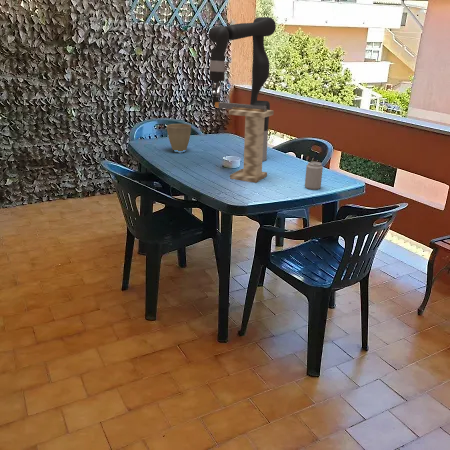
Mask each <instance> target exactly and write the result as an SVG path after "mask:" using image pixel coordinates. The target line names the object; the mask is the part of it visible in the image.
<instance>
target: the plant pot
mask: <svg viewBox="0 0 450 450" xmlns="http://www.w3.org/2000/svg"><path fill="white" fill-rule="evenodd" d="M166 131H167V136H168V140H169V144H170V147H171V149H172V151H173V150H178V151H183V150H186V151H187V149H188V147H189V146H188V145H189V142H190V139H191V132H192V125H191V124H187V123H171V124H167V125H166Z"/></svg>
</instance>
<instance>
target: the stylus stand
mask: <svg viewBox="0 0 450 450" xmlns="http://www.w3.org/2000/svg"><path fill="white" fill-rule="evenodd" d="M274 111H275V110H272V109H270V110H267V109H266V111H265V112H264V110H261V109H250V108H238V107H232V109H228V116H229V115H230V116H231V115H232V116H242V117H245V119H244V139H243V140H244V141H243V142H244V143H243V144H244V145H243V168H241V169H239V170H237V171H235V172H233V173H230V175H229V179H230V180H234V179H235V180H236V181H242V182H249V183H255V184H257V183H258V182H260V181H262V180H263V179H265V178H267V177H268V171H263V161H262V159H263V140H264V120H265V117H268V116H269V117H271V116H274Z"/></svg>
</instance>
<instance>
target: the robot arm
mask: <svg viewBox="0 0 450 450" xmlns="http://www.w3.org/2000/svg"><path fill="white" fill-rule="evenodd" d="M276 27H277V24H276V21H275V19H273V18H272V17H269V16H261V17H260V16H259V17H256V18H255V19H254V20H253V22H244V23H243V22H242V23H234V24H229V25H226V26H225V25H223V26H214V27H212V28H210V29H209V31H208V34H207V35H208V36H207V37H208V39H209V41H210V42H212V43H216V44H215V46H214V47H212V48H211V50H210V62H209V73H208V74H209V77H208V79H209V81H213V83H212V85H211V96H212V103H211V104H212V105H213V106H215V102H220V94H221V86H222V85H221V82H224V81H225V71H226V70H225V69H226V66H225V65H226V64H225V60H226V59H225V58H226V50H227V49H228V48H227V47H228V43H229V41H234V40H240V39H241V40H242V39H245V38H249V37H252V66H251V67H252V68H251V69H252V70H251V94H250V103H249V105H260V106H266V109H267V110H271V105H270V104H271V103H270V101H268V100H258V98H259V97H258V96H259V94H260V91H261V89H262V88H263V86H264V85H265V83H266V82H267V80H268V78H269V76H270V64H271V63H270V58H269V57H268V55H267V52H266V49H265V37H270V36H272V35H273V34H274V33H275V31H276ZM269 122H270V116H268V117H265V120H264V140H263V159H262V162H265V161H267V157H268V155H267V154H268V137H269Z"/></svg>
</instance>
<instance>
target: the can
mask: <svg viewBox="0 0 450 450" xmlns="http://www.w3.org/2000/svg"><path fill="white" fill-rule="evenodd" d="M323 167H324V166H323V165H322V162H318V161H308V164H306V167H305V168H306V169H305V179H304V187H305V188H306V189H308V190H313V191H315V190H316V191H317V190H319V189H320V188H321V187H322V181H323V180H322V179H323V170H324V169H323Z"/></svg>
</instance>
